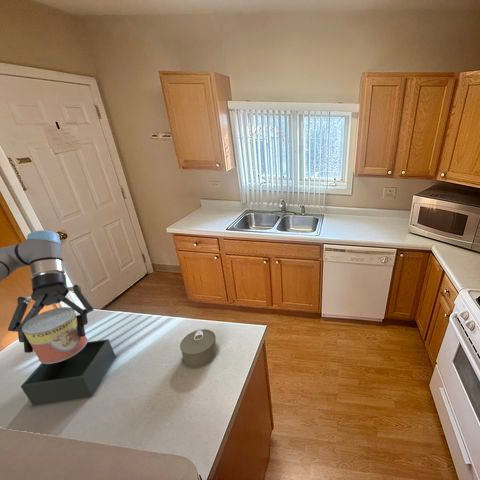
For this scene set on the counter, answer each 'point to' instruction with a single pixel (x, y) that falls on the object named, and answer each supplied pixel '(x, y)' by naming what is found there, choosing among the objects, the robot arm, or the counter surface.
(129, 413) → the counter surface
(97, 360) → the open dark gray bin
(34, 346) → the canned food
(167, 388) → the counter surface
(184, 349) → the can
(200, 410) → the counter surface
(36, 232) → the robot arm
